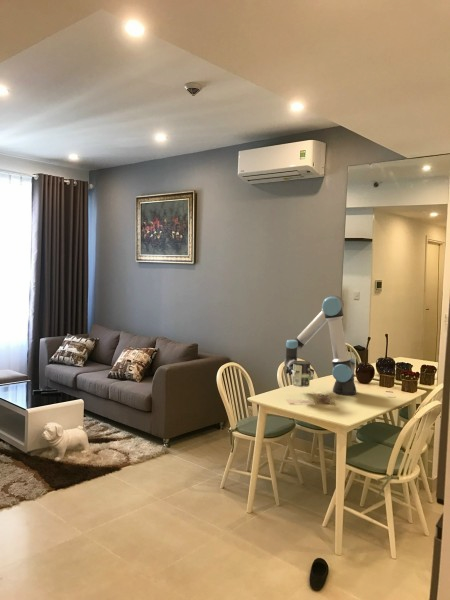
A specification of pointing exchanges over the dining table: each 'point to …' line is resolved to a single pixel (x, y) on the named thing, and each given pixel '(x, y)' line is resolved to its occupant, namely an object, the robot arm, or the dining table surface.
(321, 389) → the dining table surface
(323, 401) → the walnut block
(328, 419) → the dining table surface
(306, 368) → the coffee can
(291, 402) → the letter
